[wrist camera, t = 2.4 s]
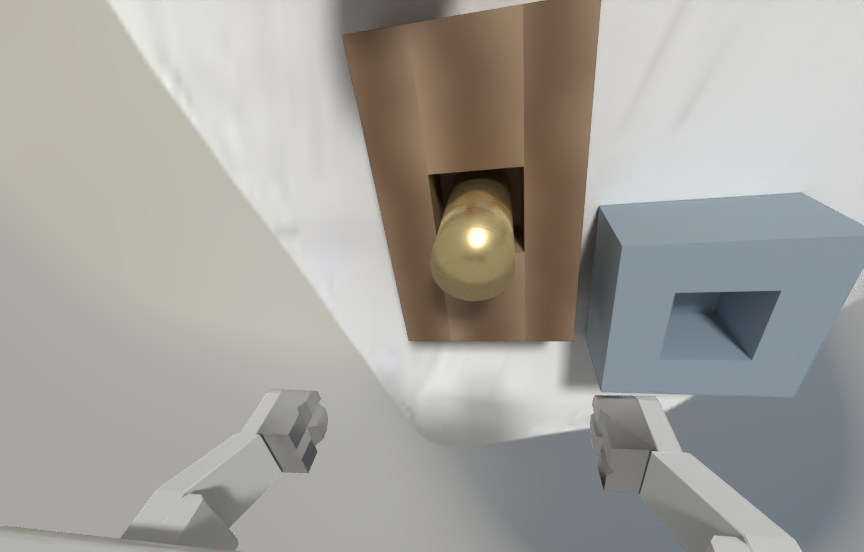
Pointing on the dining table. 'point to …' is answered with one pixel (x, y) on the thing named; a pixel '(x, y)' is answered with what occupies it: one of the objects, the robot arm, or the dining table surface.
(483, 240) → the brass pin
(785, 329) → the dock block
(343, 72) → the dining table surface
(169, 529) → the robot arm
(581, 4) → the wooden socket block
